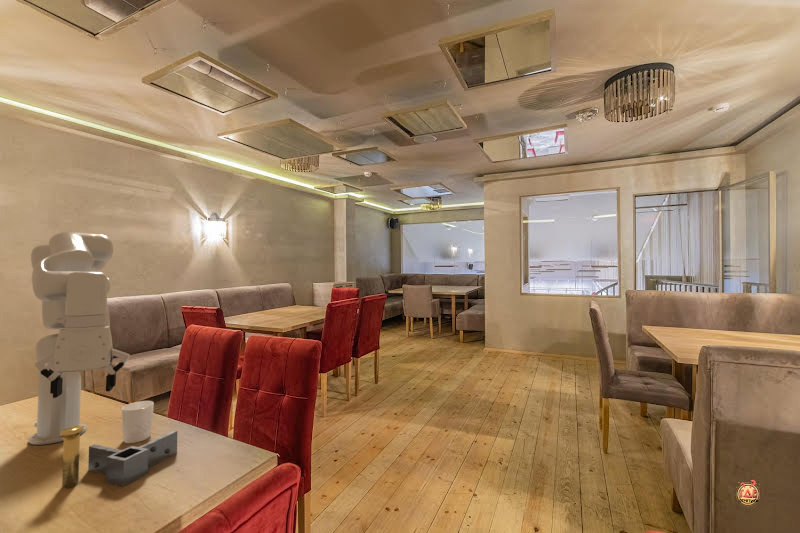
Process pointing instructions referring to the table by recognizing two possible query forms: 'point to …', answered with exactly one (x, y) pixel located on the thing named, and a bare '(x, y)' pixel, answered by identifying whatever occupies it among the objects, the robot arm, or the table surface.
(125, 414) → the white cup
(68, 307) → the robot arm
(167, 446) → the hinge body
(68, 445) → the hinge pin
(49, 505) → the table surface
